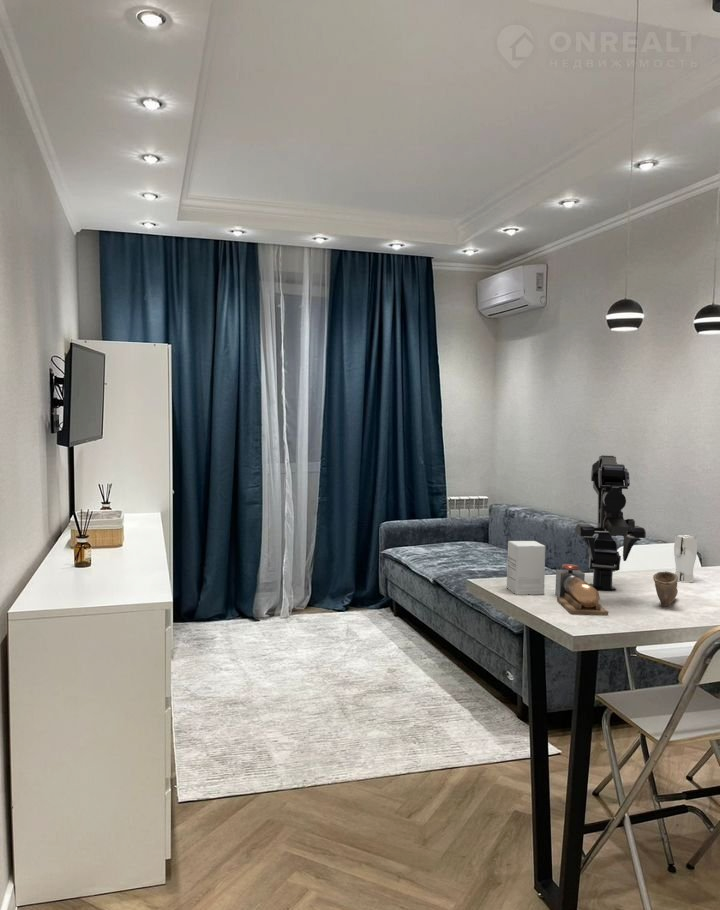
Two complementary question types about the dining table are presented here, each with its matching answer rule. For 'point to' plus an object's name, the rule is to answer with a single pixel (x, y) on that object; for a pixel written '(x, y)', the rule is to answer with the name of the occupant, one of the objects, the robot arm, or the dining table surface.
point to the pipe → (666, 587)
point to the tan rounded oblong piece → (582, 592)
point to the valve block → (566, 578)
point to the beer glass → (685, 557)
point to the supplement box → (526, 567)
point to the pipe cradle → (580, 606)
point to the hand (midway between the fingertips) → (608, 560)
